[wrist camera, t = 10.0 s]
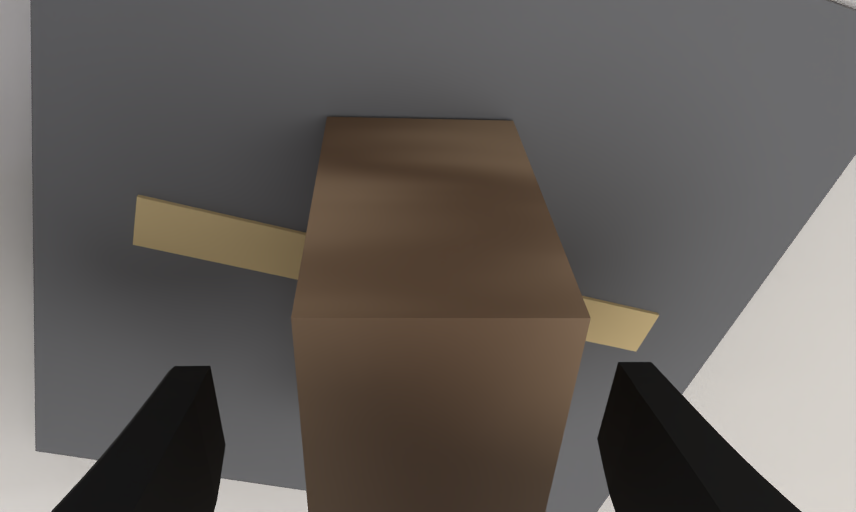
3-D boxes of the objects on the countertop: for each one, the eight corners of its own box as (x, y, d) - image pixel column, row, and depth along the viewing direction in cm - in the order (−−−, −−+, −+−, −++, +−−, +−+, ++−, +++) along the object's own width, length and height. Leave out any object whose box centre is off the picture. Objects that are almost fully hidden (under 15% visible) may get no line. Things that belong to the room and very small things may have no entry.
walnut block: (339, 408, 17) (320, 653, 12) (327, 116, 13) (290, 318, 8) (477, 407, 18) (513, 646, 13) (513, 120, 13) (591, 318, 8)
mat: (43, 436, 18) (34, 454, 18) (42, -285, 10) (24, -289, 9) (579, 517, 22) (583, 534, 21) (920, 32, 13) (941, 42, 13)
